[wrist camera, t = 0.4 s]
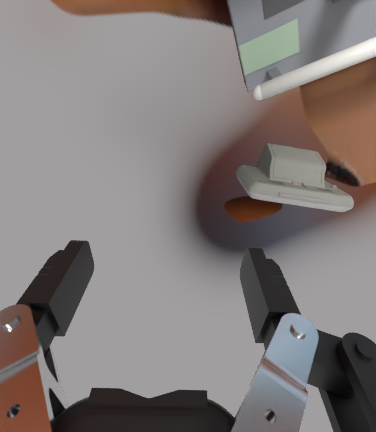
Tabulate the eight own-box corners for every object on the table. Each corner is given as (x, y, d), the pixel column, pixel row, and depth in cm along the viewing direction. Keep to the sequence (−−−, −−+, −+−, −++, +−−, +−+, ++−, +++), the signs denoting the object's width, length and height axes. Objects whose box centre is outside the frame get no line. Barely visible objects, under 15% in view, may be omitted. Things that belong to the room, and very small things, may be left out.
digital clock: (229, 170, 42) (234, 212, 34) (257, 126, 35) (270, 165, 28) (302, 196, 45) (321, 238, 38) (339, 159, 39) (370, 202, 32)
